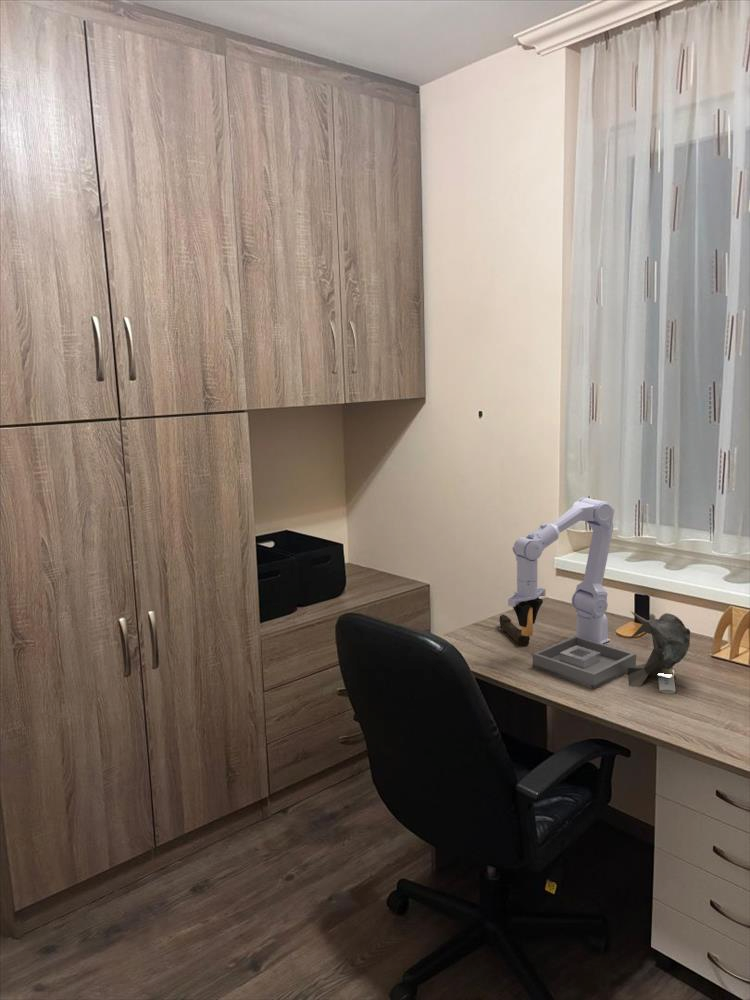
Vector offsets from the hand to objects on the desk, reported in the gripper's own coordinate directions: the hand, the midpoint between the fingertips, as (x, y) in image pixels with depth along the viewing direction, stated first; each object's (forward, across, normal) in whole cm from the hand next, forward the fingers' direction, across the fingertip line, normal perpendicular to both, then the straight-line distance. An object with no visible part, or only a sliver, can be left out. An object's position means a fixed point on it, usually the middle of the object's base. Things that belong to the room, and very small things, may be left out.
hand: (527, 624), depth 218 cm
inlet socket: (+10, -6, +14) cm, 18 cm away
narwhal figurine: (+10, -13, +34) cm, 37 cm away
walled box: (+10, -5, +16) cm, 19 cm away
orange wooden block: (+3, 0, 0) cm, 3 cm away
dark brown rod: (+10, -10, -14) cm, 20 cm away
